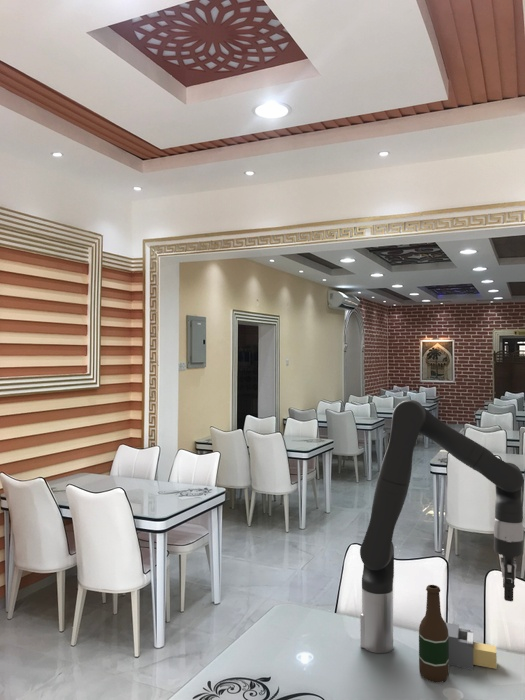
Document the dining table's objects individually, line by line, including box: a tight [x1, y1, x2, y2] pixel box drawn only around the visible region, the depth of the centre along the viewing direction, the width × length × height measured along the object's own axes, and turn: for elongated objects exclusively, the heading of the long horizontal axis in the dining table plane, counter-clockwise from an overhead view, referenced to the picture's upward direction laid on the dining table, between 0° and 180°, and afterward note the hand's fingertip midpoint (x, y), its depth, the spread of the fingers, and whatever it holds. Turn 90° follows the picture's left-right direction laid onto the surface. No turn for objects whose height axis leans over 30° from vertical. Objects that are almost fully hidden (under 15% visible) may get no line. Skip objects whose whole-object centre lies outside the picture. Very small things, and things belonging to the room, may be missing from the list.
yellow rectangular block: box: [473, 641, 498, 670], centre depth 155 cm, size 9×4×4 cm, turn 68°
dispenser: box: [445, 621, 475, 670], centre depth 158 cm, size 12×8×8 cm
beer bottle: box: [418, 584, 450, 684], centre depth 150 cm, size 8×8×24 cm
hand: (508, 594), depth 153 cm, fingers open, 8 cm apart
